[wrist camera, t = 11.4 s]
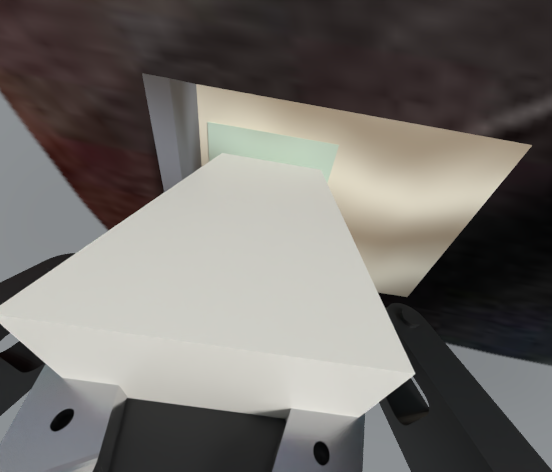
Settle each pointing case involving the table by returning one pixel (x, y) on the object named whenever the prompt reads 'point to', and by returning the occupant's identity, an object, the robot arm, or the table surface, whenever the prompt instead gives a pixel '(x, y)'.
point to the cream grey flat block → (343, 167)
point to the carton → (222, 300)
